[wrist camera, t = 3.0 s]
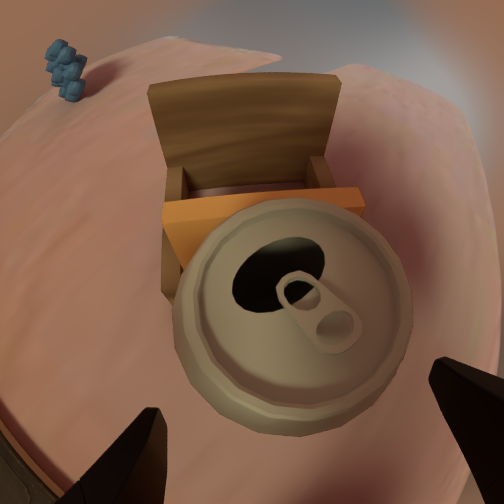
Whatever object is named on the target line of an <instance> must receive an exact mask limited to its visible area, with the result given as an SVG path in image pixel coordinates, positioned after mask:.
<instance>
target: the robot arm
mask: <svg viewBox="0 0 504 504" xmlns="http://www.w3.org/2000/svg"><path fill="white" fill-rule="evenodd" d="M428 380H429V384H430V386H431V389H432V391H433V393H434V395H435V398H436V400H437V402H438V405H439V407H440V410H441V412H442V414H443V416H444V418H445V420H446V422H447V424H448V426H449V428H450V430H451V431H452V433H453V435H454V437H455V439H456V441H457V443H458V445H459V447H460V449H461V451H462V453H463V455H464V457H465V459H466V461H467V463H468V466H469V468H470V470H471V472H472V474H473V476H474V478H475V481H476V483H477V485H478V488H479V490H480V492H481V495H482V497H483V500H484V502H485V504H504V379H502V378H500V377H497V376H495V375H492V374H489V373H487V372H484V371H481V370H479V369H476V368H474V367H471V366H468V365H466V364H463V363H461V362H458V361H456V360H453V359H451V358H448V357H441V358H438V359H436V360H435V361H434V363H433V366H432V369H431V372H430V374H429V378H428ZM166 479H167V424H166V422H165V420H164V417H163V415H162V413H161V411H160V409H159V408H156V407H147V408H145V409H144V410H143V411H142V412H141V413H140V414H139V415H138V416H137V417H136V418H135V420H134V421H133V422H132V423H131V424H130V425H129V426H128V427H127V428H126V429H125V431H124V432H123V433H122V434H121V435H120V436H119V437H118V438H117V439H116V440H115V441H114V443H113V444H112V445H111V446H110V447H109V448H108V449H107V450H106V451H105V452H104V453H103V454H102V455H101V457H100V458H99V459H98V460H97V461H96V462H95V463H94V464H93V465H92V466H91V467H90V468H89V469H88V470H87V471H86V472H85V474H84V475H83V476H82V477H81V478H80V481H79V480H78V481H77V482H76V483H75V484H74V485H73V486H72V487H71V488H70V489H69V490H68V491H67V492H66V493H65V494H64V495H63V496H62V497H61V498H59V499H58V500H57V501H56V502H55V503H53V504H164V496H165V487H166Z"/></svg>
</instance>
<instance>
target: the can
mask: <svg viewBox="0 0 504 504" xmlns="http://www.w3.org/2000/svg"><path fill="white" fill-rule="evenodd" d="M172 319H173V333H174V345H175V350H176V352H177V354H178V357H179V359H180V361H181V363H182V366H183V368H184V370H185V372H186V374H187V377H188V379H189V381H190V383H191V385H192V386H193V387H194V388H195V389H196V390H197V391H198V392H199V393H200V394H201V395H202V396H203V398H204V399H205V400H206V401H207V402H208V403H209V404H210V405H211V406H212V407H213V408H214V409H215V410H216V411H217V412H218V413H219V414H221V415H223V416H224V417H226V418H228V419H230V420H232V421H234V422H236V423H239V424H241V425H243V426H245V427H247V428H249V429H251V430H253V431H256V432H258V433H264V434H273V435H283V436H294V437H302V436H307V435H311V434H315V433H319V432H323V431H327V430H331V429H334V428H338V427H341V426H342V425H344V424H346V423H347V422H349V421H350V420H352V419H353V418H355V417H356V416H358V415H359V414H361V413H362V412H364V411H365V410H366V409H368V408H369V407H371V406H372V405H373V404H374V403H375V402H376V400H377V399H378V398H379V396H380V395H381V394H382V393H383V391H384V390H385V389H386V387H387V386H388V384H389V383H390V382H391V380H392V379H393V377H394V376H395V374H396V372H397V369H398V366H399V364H400V363H401V361H402V360H403V358H404V355H405V352H406V348H407V345H408V342H409V338H410V335H411V331H412V327H413V307H412V291H411V288H410V285H409V282H408V279H407V276H406V274H405V271H404V268H403V265H402V263H401V260H400V259H399V258H398V256H397V255H396V253H395V252H394V250H393V249H392V248H391V246H390V245H389V243H388V242H387V241H386V239H385V238H384V237H383V235H382V234H380V233H379V232H378V231H377V230H376V229H374V228H373V227H372V226H371V225H369V224H368V223H367V222H366V221H365V220H363V219H362V218H361V217H359V216H358V215H356V214H354V213H352V212H350V211H348V210H345V209H343V208H341V207H339V206H337V205H334V204H332V203H330V202H325V201H320V200H314V199H307V198H301V197H291V198H281V199H271V200H265V201H262V202H259V203H257V204H254V205H252V206H249V207H247V208H244V209H242V210H239V211H237V212H235V213H234V214H232V215H231V216H230V217H228V218H227V219H226V220H225V221H223V222H222V223H221V224H219V225H218V226H217V227H216V228H214V229H213V230H212V231H211V232H210V233H209V234H208V236H207V237H206V238H205V240H204V241H203V243H202V244H201V246H200V247H199V249H198V250H197V252H196V253H195V255H194V256H193V258H192V259H191V261H190V262H189V264H188V265H187V267H186V268H185V270H184V271H183V273H182V275H181V278H180V281H179V285H178V289H177V292H176V296H175V300H174V304H173V308H172Z"/></svg>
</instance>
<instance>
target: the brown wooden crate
mask: <svg viewBox="0 0 504 504" xmlns="http://www.w3.org/2000/svg"><path fill="white" fill-rule="evenodd" d="M341 84H342V83H341V81H340V80H339V79H338V77H337V76H336V75H329V74H314V73H289V72H288V73H287V72H272V73H271V72H267V73H266V72H264V73H238V74H224V75H213V76H203V77H195V78H187V79H180V80H174V81H168V82H162V83H157V84H151V85H150V86H149V89H148V92H147V95H148V99H149V103H150V107H151V111H152V115H153V119H154V122H155V126H156V130H157V133H158V137H159V140H160V144H161V147H162V151H163V154H164V158H165V161H166V165H167V168H168V169H167V179H166V190H165V202H170V201H178V200H187V199H189V191H191V190H200V189H209V188H218V187H229V186H239V185H251V184H264V183H279V182H296V181H304V183H305V186H306V189H319V188H336V186H335V184H334V181H333V179H332V176H331V173H330V171H329V168H328V166H327V163H326V161H325V158H324V153H325V149H326V145H327V141H328V137H329V134H330V130H331V126H332V122H333V118H334V114H335V110H336V105H337V101H338V97H339V93H340V89H341ZM183 271H184V270H183V268H182V266H181V264H180V262H179V260H178V258H177V256H176V254H175V251H174V249H173V247H172V245H171V243H170V241H169V239H168V236H167V234H166V232H165V230H164V228H163V234H162V258H161V292H162V293H163V294H164V295H165V297H166V298H167V299H168V300H169V302H170V303H171V304H172V305H173V304H174V300H175V296H176V292H177V289H178V285H179V281H180V278H181V275H182V273H183Z"/></svg>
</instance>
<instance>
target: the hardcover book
mask: <svg viewBox="0 0 504 504" xmlns="http://www.w3.org/2000/svg"><path fill="white" fill-rule="evenodd" d="M64 494H65V492H63V491H62V490H61V489H60V488H59V487H58V486H57V485H56V484H55V483H54V482H53V481H52V480H51V479H50V478H49V477H48V476H47V475H46V474H45V473H44V472H43V471H42V470H41V469H40V468H39V467H38V465H37V464H36V463H35V462H34V461H33V460H32V459H31V458H30V456H29V455H28V454H27V453H26V452H25V451H24V449H23V448H22V447H21V446H20V445H19V443H18V442H17V441H16V440H15V438H14V437H13V436H12V434H11V433H10V432H9V430H8V429H7V428H6V426H5V425H4V424H3V422H2V421H1V419H0V504H53V503H55V502H56V501H57V500H58V499H59V498H61V497H62V496H63V495H64Z"/></svg>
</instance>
